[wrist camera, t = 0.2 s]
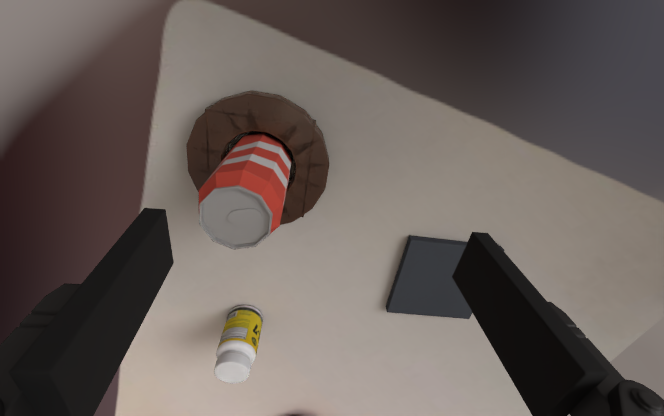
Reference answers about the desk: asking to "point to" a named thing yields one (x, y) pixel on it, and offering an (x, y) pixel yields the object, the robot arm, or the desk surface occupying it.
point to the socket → (270, 118)
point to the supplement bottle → (238, 344)
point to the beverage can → (246, 192)
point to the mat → (429, 279)
